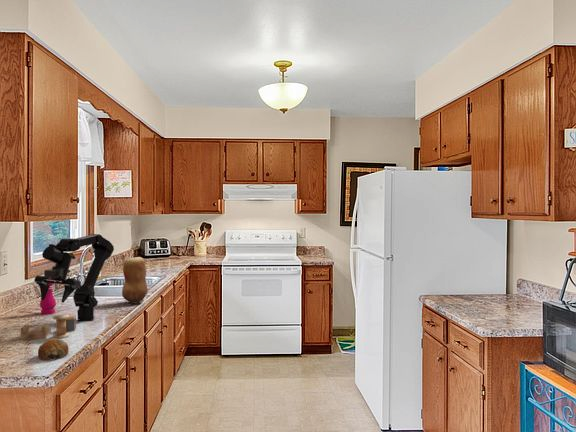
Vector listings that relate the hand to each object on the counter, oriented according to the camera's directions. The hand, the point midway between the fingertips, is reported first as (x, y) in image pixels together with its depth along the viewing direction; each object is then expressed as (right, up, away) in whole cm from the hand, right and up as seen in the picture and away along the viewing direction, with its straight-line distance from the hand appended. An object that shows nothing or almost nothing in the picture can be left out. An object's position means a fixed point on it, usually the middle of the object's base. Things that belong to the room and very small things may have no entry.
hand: (52, 301), depth 217 cm
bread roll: (+17, -14, -36) cm, 42 cm away
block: (+7, -12, +1) cm, 14 cm away
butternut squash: (+17, -11, +60) cm, 64 cm away
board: (-3, -12, -8) cm, 15 cm away
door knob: (+8, -13, -10) cm, 18 cm away
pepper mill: (-18, -12, +34) cm, 40 cm away
